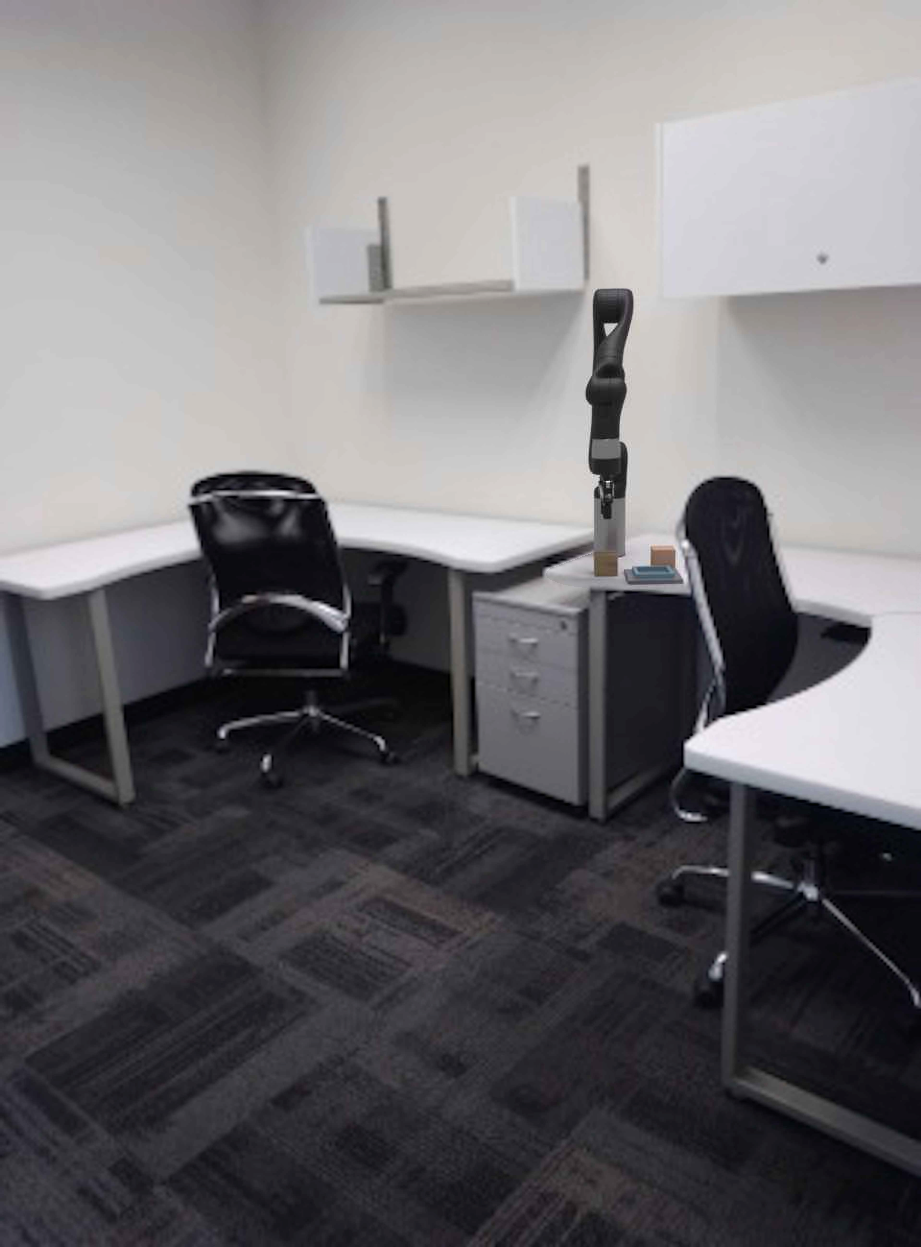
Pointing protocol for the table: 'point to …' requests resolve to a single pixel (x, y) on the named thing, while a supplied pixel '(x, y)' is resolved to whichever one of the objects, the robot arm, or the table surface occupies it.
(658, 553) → the terracotta block
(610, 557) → the walnut block
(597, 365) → the robot arm
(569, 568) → the table surface
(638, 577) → the baseplate
